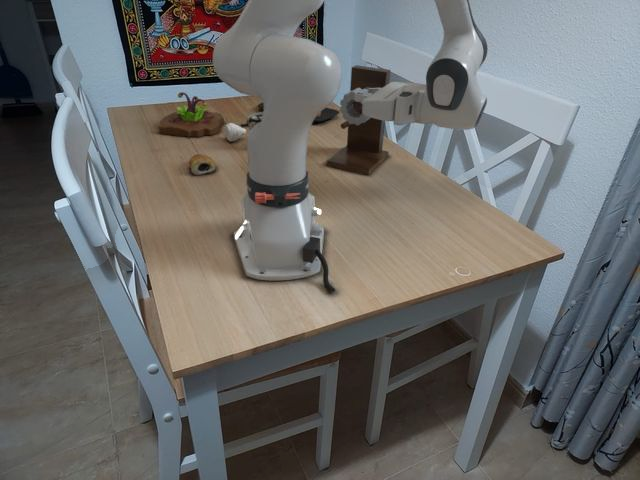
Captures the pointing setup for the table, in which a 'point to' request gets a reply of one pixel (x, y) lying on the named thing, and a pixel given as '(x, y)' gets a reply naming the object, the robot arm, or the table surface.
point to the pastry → (201, 164)
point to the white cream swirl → (233, 132)
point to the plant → (191, 120)
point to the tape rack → (363, 128)
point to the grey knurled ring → (348, 108)
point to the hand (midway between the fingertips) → (359, 94)
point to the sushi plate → (321, 116)
